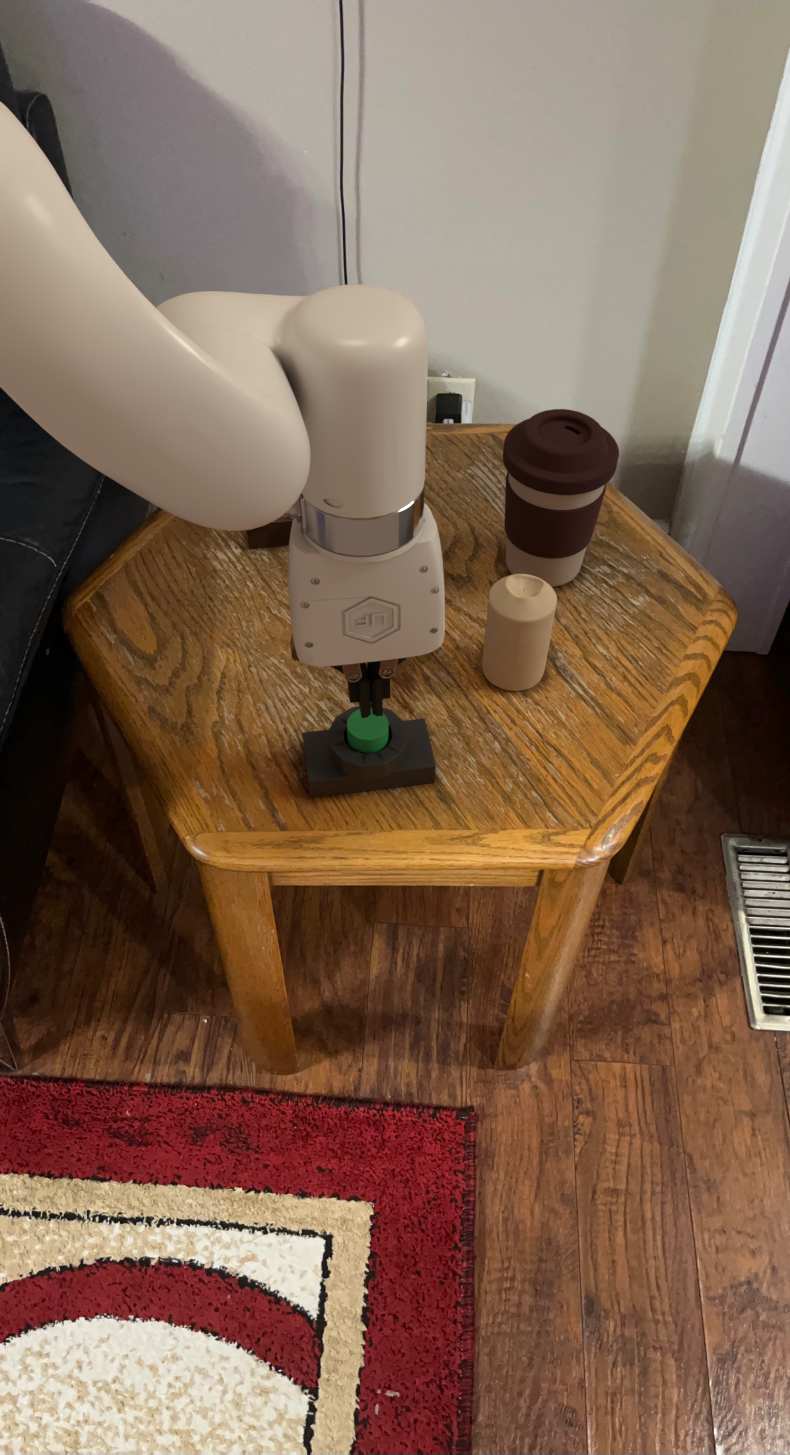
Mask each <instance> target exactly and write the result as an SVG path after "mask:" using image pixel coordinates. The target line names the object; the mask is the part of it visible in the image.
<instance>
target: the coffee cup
mask: <svg viewBox="0 0 790 1455" xmlns="http://www.w3.org/2000/svg"><path fill="white" fill-rule="evenodd" d="M619 457H620V449H619V445H618V443H617V440H616V439H615V438H614V436H613V435H612V434H611V432H609V431H608V430H606V429H605V428H604V427H602V426H601V425H600V423H599V422H598V421H596V420H595V418H593V417H591V416H590V415H587V414H586V413H583V412H582V411H581V412H580V411H578V410H574V409H573V410H572V409H566V408H553V409H547V410H543V411H540V412H538V413H537V412H536V413H535V414H533V415H532V416H530V417H529V418H527V419H524V420H522V421H520V422H519V423H517V424H515V425H514V426H513V427H512V428H511V429H510V430H509V431H508V432H507V434H506V436H505V437H504V440H503V448H502V462H503V465H504V468H505V469H506V471H507V472H506V478H505V494H504V496H505V497H504V500H505V501H504V503H505V504H504V532H505V536H506V538H505V563H506V567H507V569H508V571H509V572H510V573H511V575H513V574H528V575H533V576H536V577H538V578H540V579H542V580H544V581H545V582H547V583H548V584H549V585H550V586H551V587H552V588H556V587H561V586H564V585H566V584H568V583H569V582H571V581H573V579H575V578H576V576H577V575H578V574H579V572H580V570H581V568H582V565H583V560H584V557H585V554H586V551H587V548H588V545H589V544H590V542H591V540H592V538H593V535H594V531H595V529H596V524H597V521H598V518H599V514H600V512H601V508H602V504H603V502H604V498H605V494H606V490H607V484H608V483H609V482H610V481H611V480H612V478H613V477H614V475H615V473H616V471H617V467H618V462H619Z"/></svg>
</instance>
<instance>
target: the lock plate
mask: <svg viewBox="0 0 790 1455" xmlns="http://www.w3.org/2000/svg"><path fill="white" fill-rule="evenodd" d="M292 521H293V518H292V519H290V516H288V517H280V518H278V519H276V520H274V521H272V522H270V523H268V524H267V525H264V526H261V527H258V528H254V529H251V530H245V531H246V538H247V545H248V549H249V550H252V549H253V550H254V549H263V548H273V547H283V546H289V541H290V533H291V527H292Z"/></svg>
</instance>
